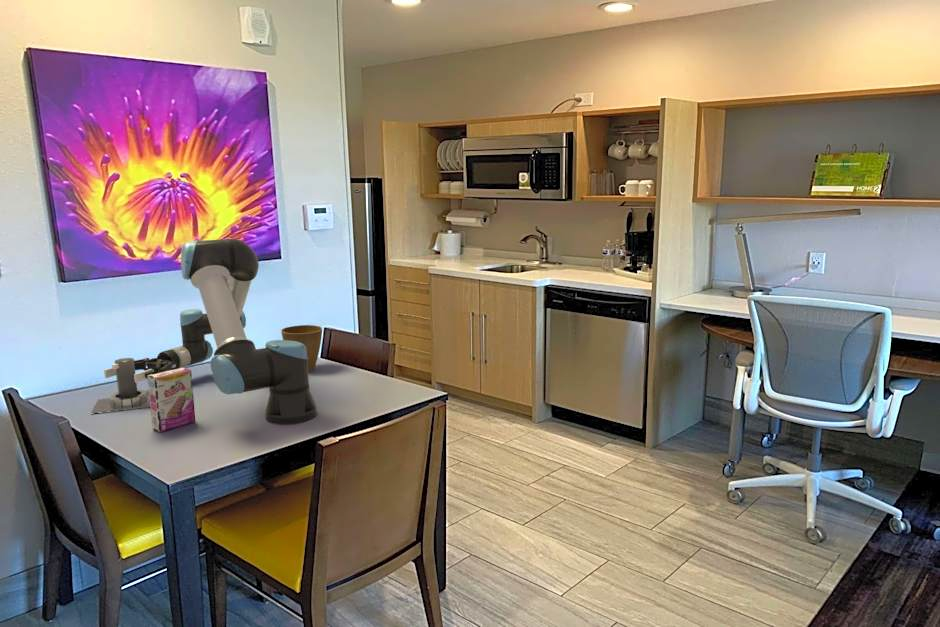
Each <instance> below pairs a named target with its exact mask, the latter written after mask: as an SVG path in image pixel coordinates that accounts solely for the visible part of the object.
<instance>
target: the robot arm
mask: <svg viewBox="0 0 940 627" xmlns="http://www.w3.org/2000/svg"><path fill="white" fill-rule="evenodd" d="M258 258H259V257H258V255H257V254H256V252H255V251H254V249H253V248H252V247H251V246H250V245H249V244H247V243H246V242H245V241H243V240H240V239H237V238H226V239H225V238H224V239H222V238H221V239H206V240H197V239H196V240H193V241H186V242H185V243H183V245H182V247H181V255H180V267H181V269H180V270H181V274H182V278H183V279H184V280H186V281H190V282H191V284H192V286H193V287H194V288H196V289H198V290H199V293H200V297H201V299H202V304H203V306H204V309H205V312H206V313H203V310H201V309H199V308H198V309H197V308H193V309H192V308H189V309H184V310H182V311H181V312H180V314H179V322H180V324H179V325H180V329H181V330H180V331H181V341H182V343H181V344H182V345H181V346H177V347H173V348H170V349H166V350H164V351H160V352H159V353H158V354H157V356H156V357H152V358H149V357H146V358H142V359H136V360H135V359H134V365H135V371H140V370H141V371H140V372H137V373H136V372H135V374H134V379H135V383H137V384H138V383H140V382H142V381H146V380H148V375H152V374H156V373H161V372H166V371H170V370H174V369H179V368H187V367H190V366H192V365H196V364H200V363H202V362H205V361H207V360H209V359H210V358H211V360H210V370H211V372H212V377H213V381H214V383H215V385H216V387H217V388H218V390H219V391H220V392H221V393H223V394H224V395H234V394H235V395H236V394H242V393H247V392H251V391H256V390H263V389H268V388H269V389H268V390H269V396H268V399H267V404H266V407H265V415H264V416H265V421H267V422H268V423H271V424H274V425H275V424H276V425H292V424H293V425H294V424H299V423H304V422H306V421H309V420H311V419H312V420H313V418H315V417H316V416H317V414H318V413H317V412H318V410H317V405H316V402H315V399H314V397H313V395H312V392H311V390H310V381H309V380H310V379H309V372H308V357H307V351H306V347H305V345H304V344H302V343H300V342H296V341H289V340H283V339H276V340H269V341H268V340H267V342H266V343H265V347H264V348H263V347H262V348H257V349H256V346H255V343H254V342H253V341H252V340H251V339H248V338H247V336H246V333H245V327H246V325H247V324H246V323H247V320H246V319H247V318H246V315H245V312H244V311H243V309H244V307H245V303H246V300H247V297H248V294H249V291H250V287H251V283H252V281H253V280H254V279H256V277H257V275H258V271H259V266H260V265H259V259H258ZM211 334H213V339H214V341H215V345H216V349H215V350H213V349H214V348H213V346H212V344H211V342H209V341H208V340H206V338H205V336H206V335H211ZM142 370H143V371H142ZM103 371H104V372H103V373H104V379H109V378H112V377H115V376H116V369H112V367H110V368H106V369H103Z"/></svg>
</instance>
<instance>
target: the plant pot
mask: <svg viewBox="0 0 940 627" xmlns="http://www.w3.org/2000/svg"><path fill="white" fill-rule="evenodd" d="M280 332H281V337H282V340H289V341H296V342H300V343H302V344H304V345H305V347H306V351H307V357H308V373H310V372H309V371H311V372H313V371H314V370H315V367H316V364H317V361H318V357H319V353H320V348H321V343H322V342H321V341H322V335H323V327H321V326H320V325H313V324H310V325H309V324H303V325H301V324H300V325H293V326H286V327H284V328H282V329H281V331H280ZM312 370H313V371H312Z"/></svg>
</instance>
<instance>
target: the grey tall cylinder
mask: <svg viewBox="0 0 940 627" xmlns="http://www.w3.org/2000/svg"><path fill="white" fill-rule="evenodd" d="M134 361H135V359H134V357H123V358H118V359H115V361H114V363H113V364H111V368H112V369H116V375H115V376H116V382H117V383H116V384H117V392H118V393H119V398H131V397H135V396H138V391H137V390H138V385H137V384H138V382H137V383H135V379H134V374H136V370H135V365H134Z"/></svg>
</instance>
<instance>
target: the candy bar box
mask: <svg viewBox="0 0 940 627" xmlns="http://www.w3.org/2000/svg"><path fill="white" fill-rule="evenodd" d="M192 374H193V373H192V369H189V368H187V367H184V368H179V369H174V370H170V371H166V372H161V373H156V374H152V375H148V379H147V384H148V394H149V397H150V407H151V408H150V415H151V425H152V429H153V430H155V431H156V432H158V433H163V432H166V431H169V430H172V429H176V427H177V428H180V427H183V426H185V425H186V424H187V425H190V424H193V423H196V411H195V400H194V390H193V387H194V386H193V377H192V376H193V375H192ZM187 425H186V426H187Z"/></svg>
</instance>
